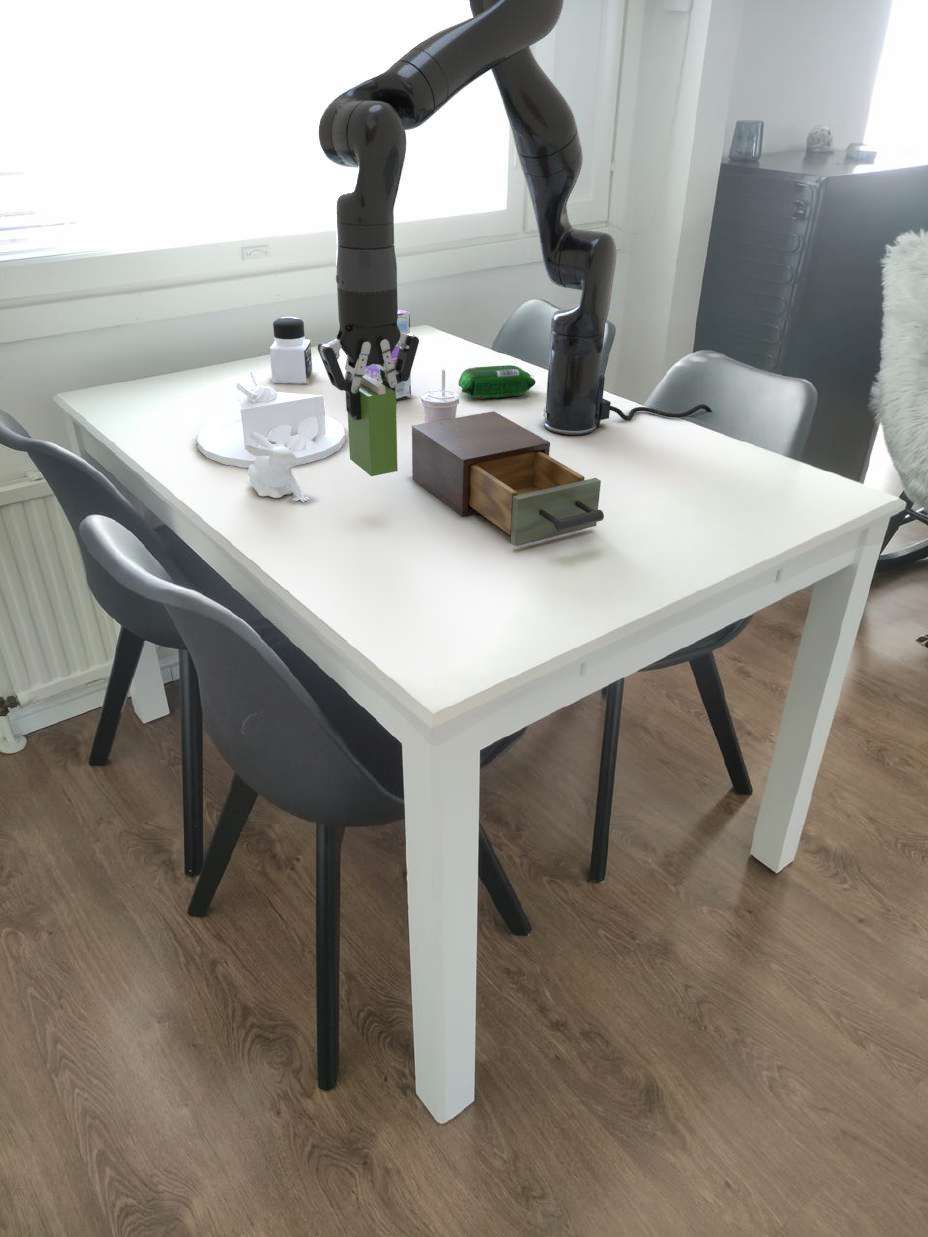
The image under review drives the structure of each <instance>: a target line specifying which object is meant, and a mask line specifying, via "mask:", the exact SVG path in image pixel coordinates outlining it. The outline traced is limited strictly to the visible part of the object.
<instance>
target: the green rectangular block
mask: <svg viewBox="0 0 928 1237" xmlns="http://www.w3.org/2000/svg"><path fill="white" fill-rule="evenodd" d="M359 393H360V397H361V420H355V419H353V418H352V417H351V415H349V414H348V413H347V428H348V442H349V443H348V445H349V446H348V448H349V449H348V450H349V459H350V461H351V462H353V463H354V464H355V465H356V466H358V467H359V468H360V469H362V470H363V471H364V472H365V473H366V474H367V475H369V476H370V477H375V476H380V475H384V474H390V473H395V472H398V429H397V428H398V425H397V400H396V392H394V391H393V390H391V389H390V388H388V387H386V386H385V385H383V384H382V383H380V382H378V381H377V380H375V379H373V378H371V377H369V376H368V375H366V374H364V376H363V377H362V380H361V385H360V390H359Z"/></svg>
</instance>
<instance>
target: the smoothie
mask: <svg viewBox="0 0 928 1237" xmlns="http://www.w3.org/2000/svg"><path fill="white" fill-rule="evenodd" d="M419 402H420V404H421V405H422V411H423V417H424V423H430V422H435V421H441V420H447V419H452V418H457V411H458V410H457V409H458V405H459V404H460V395H459V394H458V393H456V392H453V391H450V390H446V369H441V390H430V391H426V392H424V393H422V394H421V395H420V401H419Z"/></svg>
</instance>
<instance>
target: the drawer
mask: <svg viewBox="0 0 928 1237" xmlns="http://www.w3.org/2000/svg"><path fill="white" fill-rule="evenodd" d="M601 484H602V480H601V479H599V478H597V477H593V478H588V479H585V476H584V475H582V474H580V473H579V472H577V471H575V470H574V469H572V468H570V467H569V466H567V465H565V464H564V463H562V462H560V461H558V460H557V459H554V458H553V457H552V456H550V455H549V456H548V455H546V454H544V453H543V452H541V451H539V450H538V451H533V452H528V453H524V454H519V455H514V456H509V457H504V458H499V459H494V460H489V461H484V462H479V463H474V464H470V465H469V473H468V505H469V506H471V507H472V508H473V509H475V510H476V511H477V512H479V513H478V514H480V515H482V516H483V517H484V518H486V519H487V520H488V521H490V522H491V523H493V525H495V526H497V527H498V528H499V529H500V530H502V531H504V533H506V534H508V535H509V536H510V544H511V545H512V546H514V547H516V548H517V547H519V546H523V545H528V544H531V543H536V542H539V541H543V540H548V539H551V538H554V537H559V536H563V535H566V534H567V535H568V534H571V533H575V532H578V531H582V530H586V529H589V528H593V527H597V524H598V523H599V522H602V521H603V520H604V517H605V515H604V514H605V513H604V511H603V510H602V509H599V503H600V495H601V494H600V493H601Z"/></svg>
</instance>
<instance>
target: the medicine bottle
mask: <svg viewBox="0 0 928 1237" xmlns="http://www.w3.org/2000/svg"><path fill="white" fill-rule="evenodd" d="M272 328H273V329H272V330H273V339H274V342H273V343H272V345H271V346H270V347H269V359H270V369H271V380H272V383H273V384H296V385H297V384H298V385H301V384H303V385H307V384H308V383H309V381H310V379H311V377H312V375H313V361H312V360H313V359H312V346H311V340H310V339H306V335H305V323H304V320H302V319H301V318H299V317H295V316H283V317H279V318H277V319H275V320H274V321H273V322H272Z"/></svg>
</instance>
